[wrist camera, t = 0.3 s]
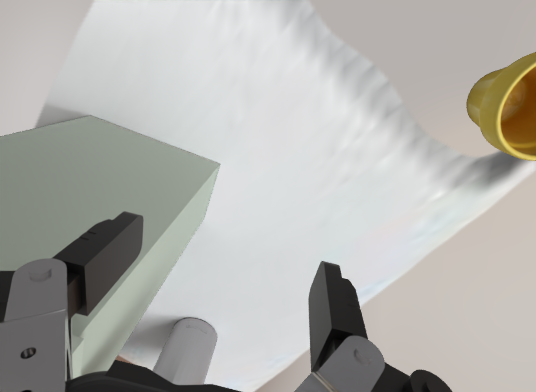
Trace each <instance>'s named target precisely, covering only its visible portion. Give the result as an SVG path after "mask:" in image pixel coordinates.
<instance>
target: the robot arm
mask: <svg viewBox="0 0 536 392" xmlns="http://www.w3.org/2000/svg"><path fill="white" fill-rule="evenodd" d="M143 222H144V219H143V216H142V215H138V214H134V213H130V212H126V211H124V212H122V213H121V214H119V215H118V216H117V217H116V218H115V219H113V220H111V219H107V220H105V221H102V222H99V223H97V224H95V225H94V226H93V227H91V228H90V229H89V230H87V232H85V233H83V234H82V235H81V236H80V237H79V238H77V239H76V240H74V241H73V242H72V243H70V244H69V245H68V246H67V247H65V248H64V249H63V250H61V251H60V252H59V253H57V254H56V255H55V256H54V257H52V258H46V259H38V260H34V261H31V262H29V263H26V264H24V265H23V266H21V267H20V268H18V269H17V270H16V271H0V392H241V391H237V390H233V389H229V388H225V387H221V386H217V385H213V384H204V381H205V378H206V375H207V372H208V368H209V365H210V362H211V359H212V355H213V352H214V349H215V345H216V342H217V334H216V332H215V330H214V329H213V328H212V327H211V326H210V325H209V324H208V323H206V322H204V321H202V320H199V319H194V318H186V319H182V320H180V321H178V322H177V323H176V324H175V326H174V327H173V329H172V332H171V334H170V336H169V338H168V340H167V342H166V344H165V346H164V348H163V350H162V352H161V354H160V356H159V358H158V360H157V362H156V364H155V366H154V369H153V371H151V370H150V369H148V368H146V367H142V366H138V365H134V364H130V363H126V362H122V361H118V360H114V362H113V363H112V365H111V367H110V368H109V370H108V371H98V372H92V373H88V374H84V375H82V376H79V377H76V378H74V379H73V368H72V321H71V318H72V317H73V316H74V315H75V313H76V314H80V315H84V316H88V315H89V314H90V313H91V312H92V310H93V309H94V308H95V307H96V306H97V305H98V303H99V302H100V301H101V300H102V299H103V297H104V296H105V295H106V294H107V293H108V292H109V290H110V289H111V288H112V287H113V286H114V285H115V283H116V282H117V281H118V280H119V279H120V277H121V276H122V275H123V274H124V273H125V272H126V270H127V269H128V268H129V267H130V266H131V265H132V263H133V262H134V261H135V260H136V259H137V257H138V256H139V254H140V251H141V248H142V241H143ZM309 327H310V353H311V372H312V373H311V374H310V375H309V376H308V377H307V378H306V379H305V380H304V381H303V382H302V384H301V385H300V386H299V387H298V388H297V389H296V390H295V392H452V391H451V389H450V388H449V387H448V386H447V384H446V383H445V382H444V381H442V380H441V379H440V378H439V377H437V376H436V375H434V374H433V373H431V372H428V371H426V370H416V371H414V372H413V373H412V374H411V375H410V376H408V375H406V374H405V373H403V372H401V371H399V370H397V369H396V368H394V367H392V366H390V365H389V364H387V363H385V362H384V358H383V355H382V354H381V352H380V350H379V349H378V348H377V347H376V346H375V345H374V344H373V343H372V342H371V341H369V340H368V337H367V334H366V329H365V325H364V321H363V317H362V313H361V310H360V305H359V301H358V297H357V293H356V289H355V288H354V287H353V285H352V284H351V282H350V281H349V280H348V279H344V278H342V276H341V271H340V266H339V265H336V264H332V263H328V262H324V261H322V262H321V263H320V265H319V268H318V270H317V273H316V276H315V278H314V281H313V283H312V286H311V289H310V293H309Z"/></svg>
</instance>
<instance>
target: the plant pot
mask: <svg viewBox="0 0 536 392" xmlns="http://www.w3.org/2000/svg"><path fill="white" fill-rule="evenodd" d="M467 112H468V115H469V117H470V118H471V119H472V121H473V122H475V123H476V124H477V125H478V126H479V127H480V129H481V132H482V134H483V136H484V137H485V139H486V140H487V141H488V142H489V143H490V144H491V145H493V146H494V147H495V148H497V149H499V150H501V151H503V152H505V153H507V154H510V155H512V156H514V157H517V158H520V159H524V160H530V161H536V52H535V53H532V54H529V55H527V56H524V57H522V58H520V59H519V60H517V61H515V62H514V63H512V64H511V65H509V66H508V67H506V68H503V69H500V70H497V71H494V72H491V73H489V74H487V75H485V76H484V77H482V78H481V79H480V80H479V81H478V82H477V83H476V84H475V85H474V86H473V88H472V89H471V91H470V93H469V96H468V99H467Z"/></svg>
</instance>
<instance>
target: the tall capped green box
mask: <svg viewBox="0 0 536 392" xmlns="http://www.w3.org/2000/svg"><path fill="white" fill-rule="evenodd" d="M219 167H220V164H219V163H217V162H214V161H211V160H209V159H206V158H203V157H201V156H198V155H195V154H193V153H190V152H187V151H184V150H182V149H179V148H176V147H174V146H171V145H168V144H166V143H163V142H160V141H158V140H155V139H152V138H150V137H147V136H144V135H142V134H139V133H136V132H133V131H131V130H128V129H125V128H123V127H120V126H117V125H115V124H112V123H109V122H107V121H104V120H101V119H99V118H96V117H93V116H87V117H82V118H78V119H74V120H69V121H65V122H61V123H56V124H52V125H48V126H43V127H39V128H35V129H30V130H26V131H22V132H17V133H13V134H9V135H4V136H0V271H16V270H17V269H18V268H20V267H21V266H23V265H24V264H26V263H29V262H31V261H34V260H38V259H46V258H52V257H54V256H55V255H56V254H57V253H59V252H60V251H61V250H63V249H64V248H65V247H67V246H68V245H69V244H70V243H72V242H73V241H74V240H76V239H77V238H79V237H80V236H81V235H82V234H83V233H85V232H87V230H89V229H90V228H91V227H93V226H94V225H95V224H97V223H99V222H102V221H105V220H107V219H111V220H113V219H115V218H116V217H117V216H118V215H119V214H121V213H122V212H124V211H126V212H130V213H134V214H138V215H142V216H143V219H144V222H143V241H142V248H141V251H140V254H139V256H138V257H137V259H136V260H135V261H134V262H133V263H132V265H131V266H130V267H129V268H128V269H127V270H126V272H125V273H124V274H123V275H122V276H121V277H120V279H119V280H118V281H117V282H116V283H115V285H114V286H113V287H112V288H111V289H110V290H109V292H108V293H107V294H106V295H105V296H104V297H103V299H102V300H101V301H100V302H99V303H98V305H97V306H96V307H95V308H94V309H93V310H92V312H91V313H90V314H89V315H88V316H84V315H80V314H76V313H75V315H74V316H73V317H72V318H71V321H72V368H73V379H74V378H76V377H79V376H82V375H84V374H88V373H92V372H98V371H108V370H109V368H110V367H111V365H112V363H113V362H114V360H115V358H116V357H117V355H118V354H119V352H120V351H121V349H122V348H123V346H124V344H125V343H126V341H127V340H128V338H129V336H130V335H131V333H132V332H133V330H134V329H135V327H136V325H137V324H138V322H139V321H140V319H141V318H142V316H143V314H144V313H145V311H146V310H147V308H148V306H149V305H150V303H151V302H152V300H153V299H154V297H155V295H156V294H157V292H158V291H159V289H160V287H161V286H162V284H163V283H164V281H165V280H166V278H167V276H168V275H169V273H170V272H171V270H172V269H173V267H174V265H175V264H176V262H177V261H178V259H179V257H180V256H181V254H182V253H183V251H184V250H185V248H186V246H187V245H188V243H189V242H190V240H191V238H192V237H193V235H194V234H195V232H196V231H197V229H198V227H199V226H200V224H201V223H202V221H203V219H204V217H205V214H206V211H207V207H208V204H209V201H210V197H211V194H212V191H213V187H214V184H215V181H216V177H217V174H218V171H219Z"/></svg>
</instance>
